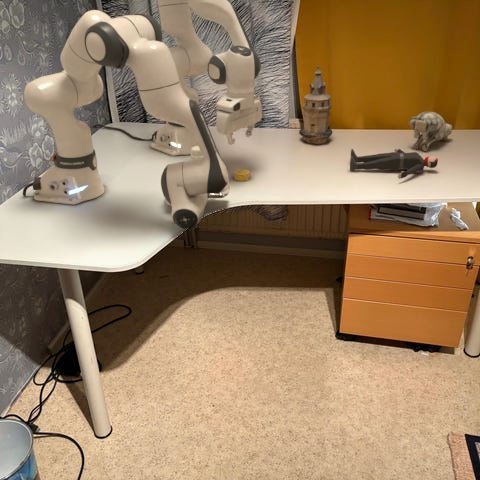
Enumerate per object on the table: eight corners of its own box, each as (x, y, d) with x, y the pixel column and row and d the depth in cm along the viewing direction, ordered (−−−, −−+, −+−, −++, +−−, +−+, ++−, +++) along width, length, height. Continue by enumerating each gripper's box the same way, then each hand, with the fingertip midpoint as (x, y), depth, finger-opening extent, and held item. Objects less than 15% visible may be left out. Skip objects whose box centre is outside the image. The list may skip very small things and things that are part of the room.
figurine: (439, 162, 206) (463, 135, 215) (427, 119, 197) (453, 93, 206) (416, 162, 213) (441, 135, 222) (404, 120, 204) (430, 94, 213)
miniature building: (320, 132, 228) (325, 59, 214) (338, 142, 217) (344, 66, 203) (293, 137, 224) (296, 63, 209) (310, 147, 213) (314, 69, 198)
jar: (199, 199, 172) (196, 151, 165) (190, 194, 175) (187, 148, 168) (210, 194, 175) (208, 148, 167) (201, 190, 178) (199, 144, 170)
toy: (351, 141, 203) (434, 141, 197) (350, 156, 206) (432, 157, 200) (349, 166, 181) (443, 167, 175) (349, 183, 184) (441, 185, 178)
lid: (245, 182, 184) (245, 175, 183) (231, 179, 186) (231, 173, 185) (251, 176, 188) (251, 170, 187) (237, 174, 190) (237, 168, 189)
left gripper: (227, 186, 159) (231, 168, 171) (159, 185, 160) (168, 168, 172) (228, 205, 162) (231, 187, 174) (161, 204, 163) (169, 186, 175)
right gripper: (252, 91, 182) (251, 130, 190) (212, 104, 169) (213, 146, 176) (267, 94, 179) (265, 134, 186) (228, 108, 165) (228, 150, 173)
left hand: (199, 177), depth 173 cm, fingers open, 6 cm apart
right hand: (240, 140), depth 181 cm, fingers open, 8 cm apart
